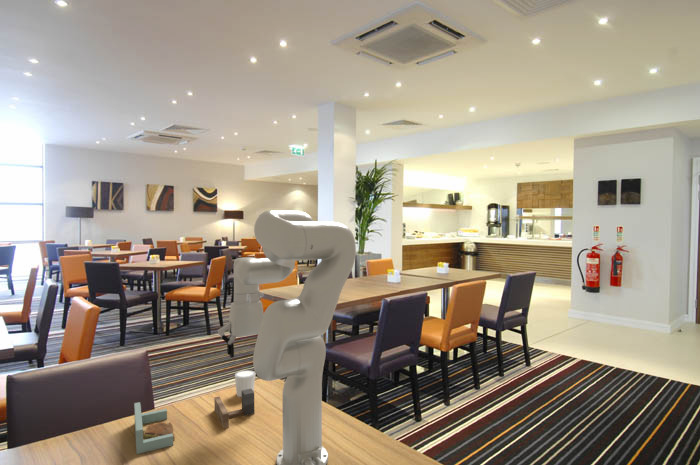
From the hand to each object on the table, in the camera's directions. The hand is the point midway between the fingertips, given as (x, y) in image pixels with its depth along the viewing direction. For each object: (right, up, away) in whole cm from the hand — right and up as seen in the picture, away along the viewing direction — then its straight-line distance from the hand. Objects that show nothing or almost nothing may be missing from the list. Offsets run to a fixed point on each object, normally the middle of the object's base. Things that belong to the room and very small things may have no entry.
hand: (247, 353), depth 126 cm
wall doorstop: (-3, -18, -1) cm, 19 cm away
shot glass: (-4, -18, +14) cm, 24 cm away
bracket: (-23, -19, -12) cm, 32 cm away
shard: (-20, -19, -11) cm, 30 cm away
